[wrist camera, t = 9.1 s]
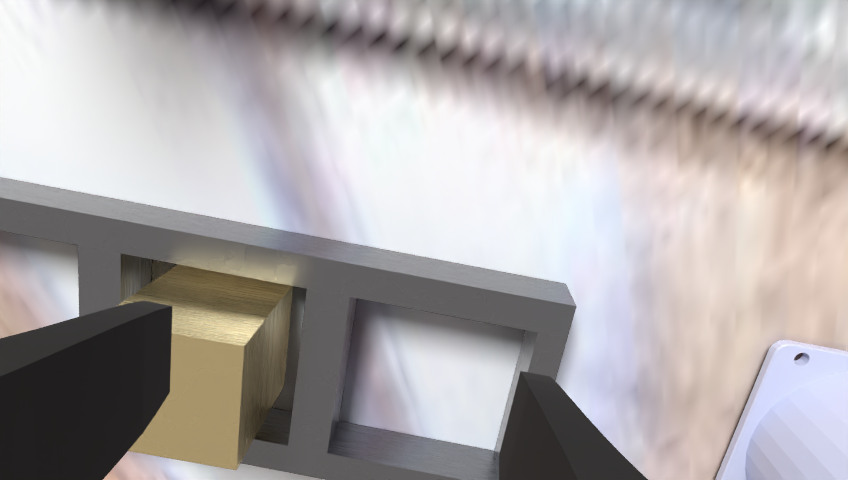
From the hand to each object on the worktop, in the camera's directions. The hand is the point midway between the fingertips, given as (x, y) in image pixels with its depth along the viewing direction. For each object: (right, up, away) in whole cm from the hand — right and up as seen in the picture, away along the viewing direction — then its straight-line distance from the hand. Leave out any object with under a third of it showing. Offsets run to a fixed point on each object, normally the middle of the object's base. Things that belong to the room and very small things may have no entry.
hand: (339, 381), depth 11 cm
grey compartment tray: (-6, -1, +10) cm, 12 cm away
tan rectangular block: (-6, -1, +10) cm, 12 cm away
